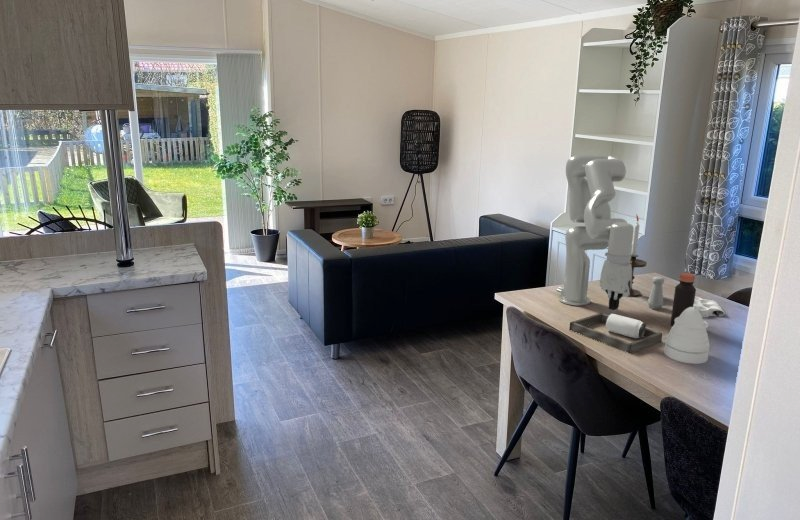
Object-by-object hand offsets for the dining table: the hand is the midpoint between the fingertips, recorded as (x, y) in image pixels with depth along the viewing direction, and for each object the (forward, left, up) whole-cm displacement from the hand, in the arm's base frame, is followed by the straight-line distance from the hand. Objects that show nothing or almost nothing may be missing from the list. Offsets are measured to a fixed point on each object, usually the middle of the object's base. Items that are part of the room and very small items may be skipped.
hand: (613, 308), depth 206 cm
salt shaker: (-7, +39, -10) cm, 41 cm away
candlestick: (-24, +47, -10) cm, 54 cm away
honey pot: (+25, +5, -10) cm, 27 cm away
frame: (+1, 0, -10) cm, 10 cm away
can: (-3, +3, -6) cm, 8 cm away
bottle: (+10, +28, -10) cm, 31 cm away
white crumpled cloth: (+5, +52, -10) cm, 53 cm away
